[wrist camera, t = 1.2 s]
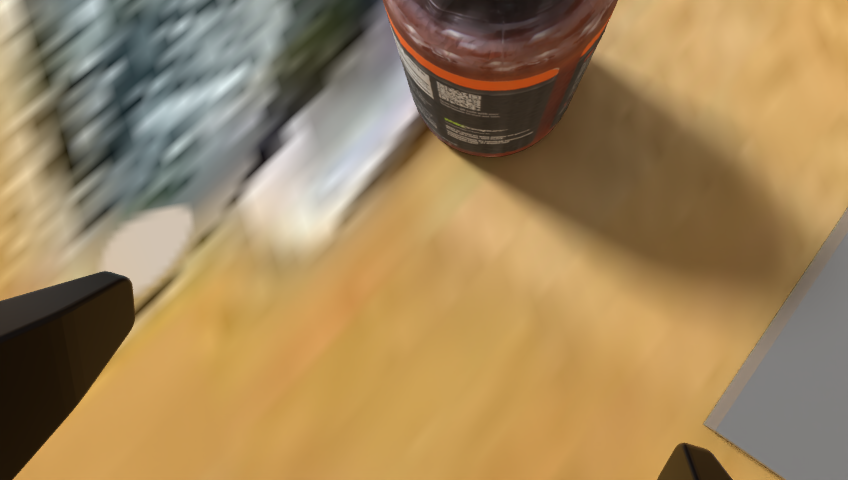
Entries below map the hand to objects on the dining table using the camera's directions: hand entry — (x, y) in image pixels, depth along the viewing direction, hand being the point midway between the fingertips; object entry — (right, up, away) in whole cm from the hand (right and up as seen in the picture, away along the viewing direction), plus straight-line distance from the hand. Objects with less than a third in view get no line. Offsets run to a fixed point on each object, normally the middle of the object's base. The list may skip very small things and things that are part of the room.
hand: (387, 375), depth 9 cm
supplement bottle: (+3, +8, +13) cm, 16 cm away
